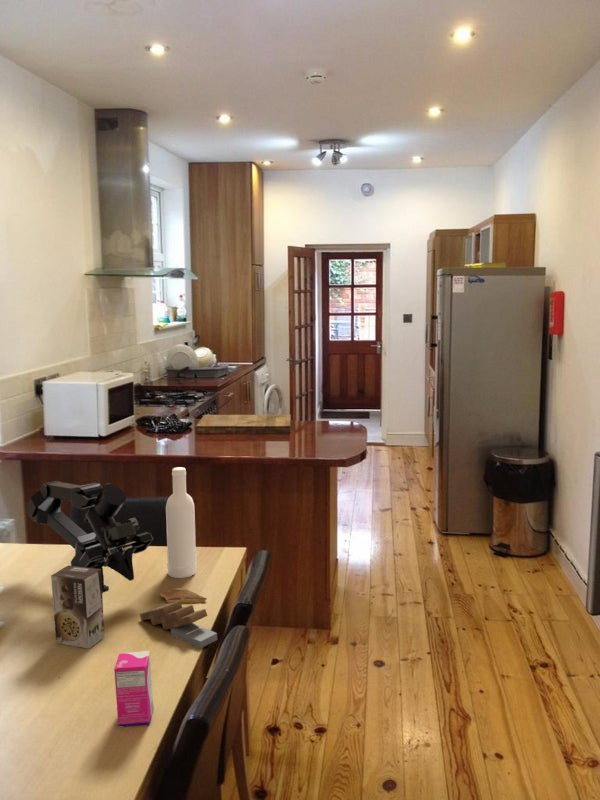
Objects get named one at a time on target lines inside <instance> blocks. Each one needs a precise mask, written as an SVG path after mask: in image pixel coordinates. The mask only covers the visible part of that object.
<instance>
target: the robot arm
mask: <svg viewBox="0 0 600 800" xmlns="http://www.w3.org/2000/svg"><path fill="white" fill-rule="evenodd" d="M126 500H127V495H126V493H125V491H123V490H122V488H120V487H117V486H114V485H113V483H112V482H108V483H104V484H103V486H102V485H101V483H99V482H93V483H87V484H82V485H79V484H73V483H67V482H61V481H60V480H55V481H49V482H45V483H43V484H41V485H40V487H39V489H38V490H37V491H36V492H35V493H34V494H33V495H32V496H31V497H30V498H29V500H28V503H27V505H26V508H25V511H26V514H27V516H28V517H29V518H30V520H31V521H33V522H36V523H37V524H40V525H47V526H49V527H50V528H51V529H52V530H53V531H54V532H55V533H56V534H57V535H59V536H60V537H61V538H62V539H63V540H64V541H65V542H66V543H67V544H68V545H70V546H71V547H72V548H73V549H74V556H73V558H72V560H71V561H70V566H78V567H86V568H95V569H101V580H102V592H105V591H107V590H109V589H110V587H109V586H108V585H106V584H105V578H104V577H105V576H104V568H105V567H108V568H110V569H111V570H113V571H115V572H116V573H118V574H119V575H121V576H122V577H123V578H125V579H126V580H128V581H129V582H130V581H131V582H132V581H134V579H135V574H134V565H133V556H134V554H135V555H136V554H139V553H143V552H145V551H146V550H147V549H148V547H150V545H151V543H153V541H154V537H153V536H152V534H151V532H147V531H145V532H141V533H139V534H137V533H136V531H138V530H139V529H140V523H139V521H138V520H137V518H136V517H132V518H129V519H126V523H123V524H121V522H119V521H118V522H116V520H115V518H114V516H116V515H117V514H118V512H119V511H120V509H121V508H122V506H123V505H124V503H125V502H126ZM64 501H65V502H66V501H68V502H71V505H72V507H75V508H77V509H79V510H82V509H87V508H89V510H88V511H85V515H84V518H83V522H84V523H89V525H90V527H91V529H92V530H93V532H91V533H87V532H86V531H85V530H83V529H82V528H81V527H80V526H79V525H78V524H76V523H75V522H74V521H73V520H72V519H71V517H68V516H67V515H66V514H65V513H64V512H63V511H62V505H63V502H64ZM131 535H133V536H134V535H135V536H134V537H133V539H132V540H131V541H129V540H130V538H131V537H130V536H131ZM127 541H128V542H127Z"/></svg>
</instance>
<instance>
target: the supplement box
mask: <svg viewBox="0 0 600 800" xmlns="http://www.w3.org/2000/svg"><path fill="white" fill-rule="evenodd" d="M151 666H152V665H151V652H150V650H144V651H143V650H142V651H133V652H131V651H130V652H119V654H118V656H117V659H116V662H115V666H114V669H113V671H114V683H115V696H116V710H117V711H116V713H117V724H118V725H117V726H118V727H119V726H124V727H136V726H135V725H141V726H149V725H151V721H152V716H153V714H154V713H153V712H154V698H153V683H152V682H153V681H152V669H151V668H152V667H151Z"/></svg>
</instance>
